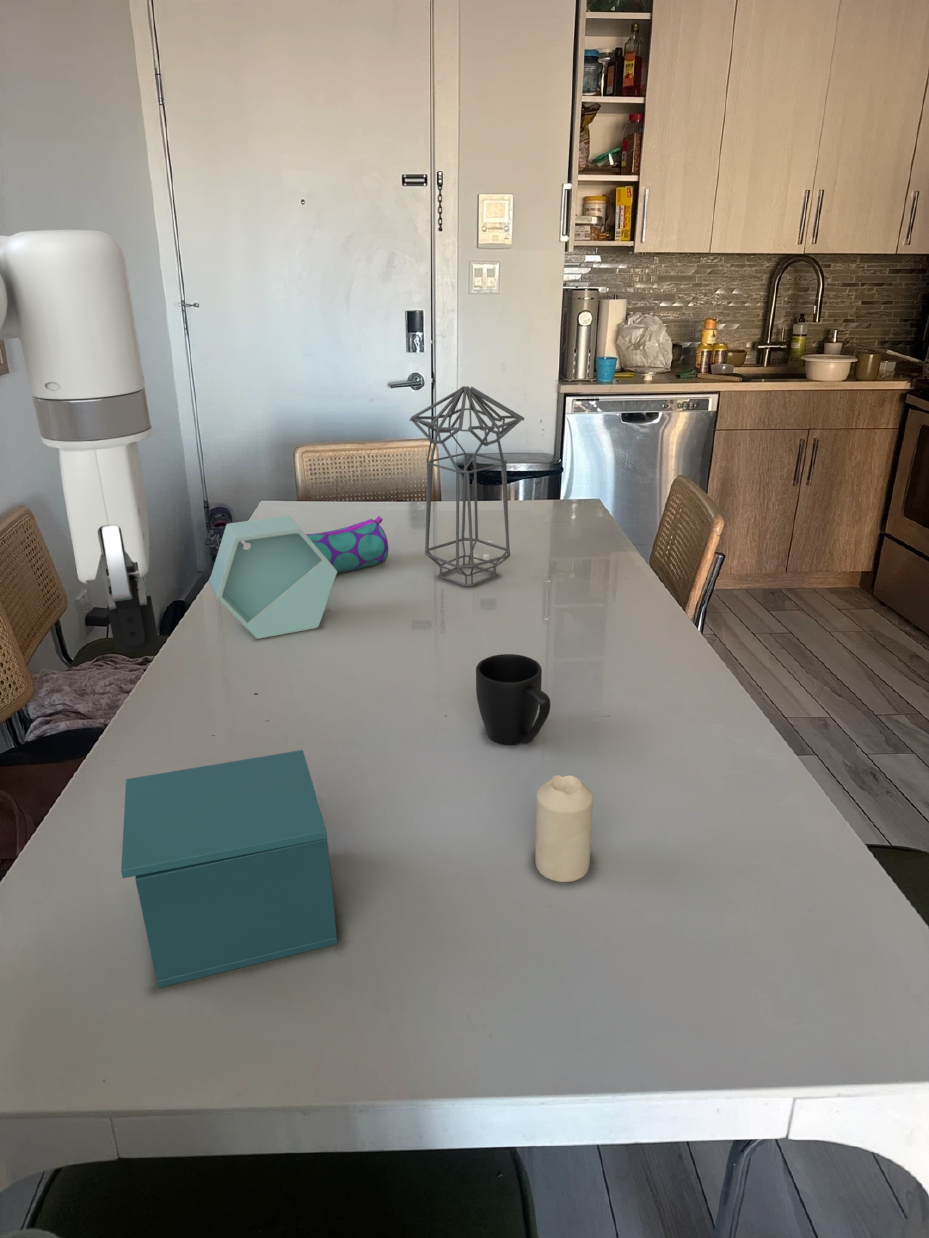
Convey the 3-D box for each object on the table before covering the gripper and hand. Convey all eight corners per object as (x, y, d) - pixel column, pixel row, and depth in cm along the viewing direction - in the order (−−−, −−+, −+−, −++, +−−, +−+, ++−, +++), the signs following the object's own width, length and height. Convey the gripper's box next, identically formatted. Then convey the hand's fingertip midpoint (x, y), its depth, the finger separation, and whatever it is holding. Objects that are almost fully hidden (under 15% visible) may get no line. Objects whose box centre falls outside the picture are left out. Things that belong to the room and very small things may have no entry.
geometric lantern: (410, 576, 165) (402, 387, 151) (471, 556, 174) (469, 377, 160) (466, 598, 154) (463, 397, 140) (528, 576, 164) (531, 386, 150)
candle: (557, 890, 85) (560, 805, 81) (524, 859, 90) (525, 777, 86) (600, 869, 88) (605, 787, 84) (566, 840, 92) (570, 760, 88)
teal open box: (158, 988, 75) (135, 879, 70) (157, 886, 87) (138, 787, 82) (337, 943, 79) (327, 839, 75) (313, 852, 91) (303, 756, 86)
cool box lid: (122, 878, 70) (121, 870, 70) (127, 786, 82) (125, 778, 81) (327, 838, 75) (326, 831, 74) (303, 756, 86) (302, 749, 86)
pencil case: (286, 589, 160) (281, 539, 156) (273, 574, 167) (268, 526, 163) (391, 569, 168) (389, 522, 164) (375, 556, 175) (372, 510, 171)
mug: (514, 772, 104) (515, 703, 100) (464, 728, 114) (463, 663, 110) (570, 753, 108) (573, 685, 104) (517, 711, 117) (518, 648, 114)
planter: (278, 661, 143) (192, 573, 132) (268, 642, 149) (185, 558, 138) (357, 594, 144) (278, 502, 133) (344, 578, 151) (267, 490, 139)
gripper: (49, 404, 68) (93, 618, 75) (24, 443, 55) (81, 697, 62) (150, 397, 70) (183, 607, 78) (149, 433, 57) (189, 681, 65)
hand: (137, 647), depth 70 cm, fingers closed
